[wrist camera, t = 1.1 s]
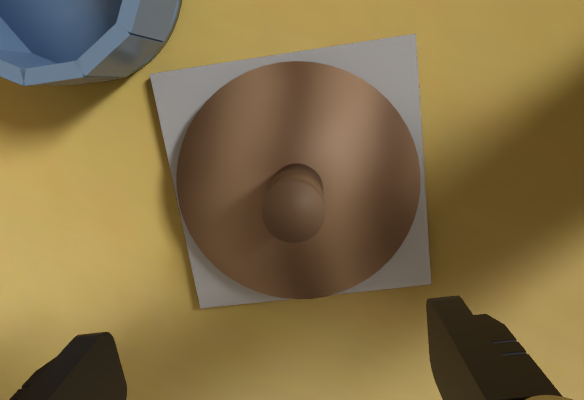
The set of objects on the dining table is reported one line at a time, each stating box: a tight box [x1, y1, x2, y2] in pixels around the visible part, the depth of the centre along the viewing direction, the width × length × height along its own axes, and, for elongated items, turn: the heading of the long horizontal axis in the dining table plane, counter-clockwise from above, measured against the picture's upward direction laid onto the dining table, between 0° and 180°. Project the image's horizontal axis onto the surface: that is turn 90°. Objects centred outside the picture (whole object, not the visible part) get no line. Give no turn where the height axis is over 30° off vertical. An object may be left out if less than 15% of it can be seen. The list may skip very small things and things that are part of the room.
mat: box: [150, 34, 431, 309], centre depth 28 cm, size 16×16×1 cm
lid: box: [176, 61, 421, 299], centre depth 25 cm, size 15×15×6 cm
